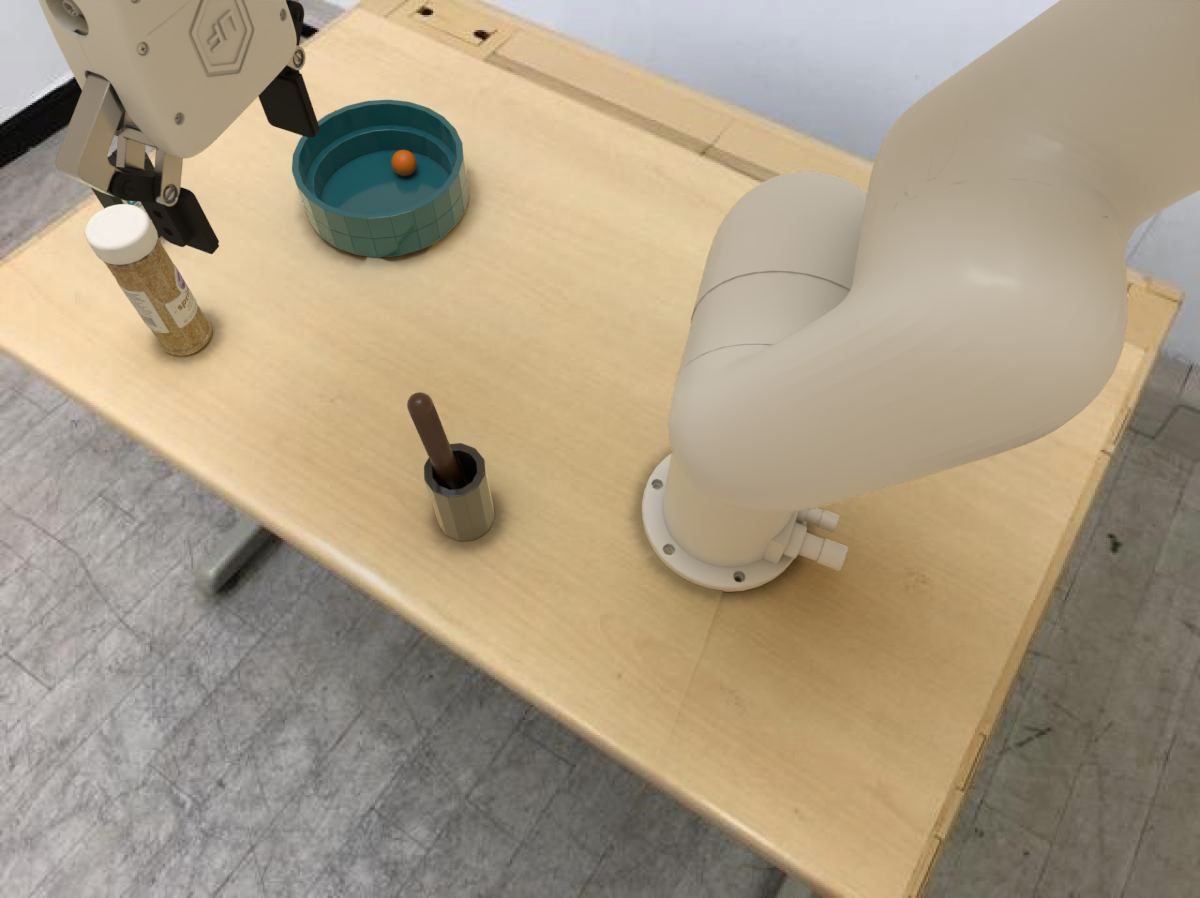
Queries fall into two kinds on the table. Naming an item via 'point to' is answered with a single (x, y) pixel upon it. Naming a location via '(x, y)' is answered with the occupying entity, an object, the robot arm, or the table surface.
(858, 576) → the table surface
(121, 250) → the sprinkles bottle
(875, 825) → the table surface
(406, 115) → the bowl
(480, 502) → the holder
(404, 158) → the ball
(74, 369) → the table surface
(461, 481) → the stick
